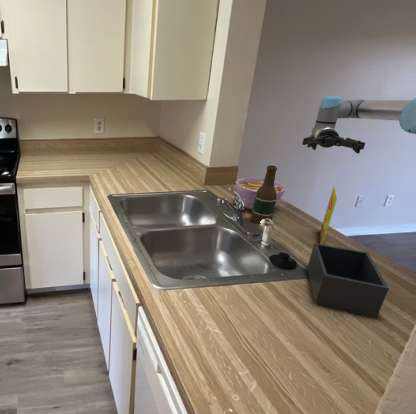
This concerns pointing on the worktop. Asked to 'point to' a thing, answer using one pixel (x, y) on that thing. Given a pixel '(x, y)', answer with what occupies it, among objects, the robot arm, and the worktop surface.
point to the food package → (328, 216)
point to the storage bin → (346, 280)
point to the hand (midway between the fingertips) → (336, 148)
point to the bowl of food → (255, 190)
